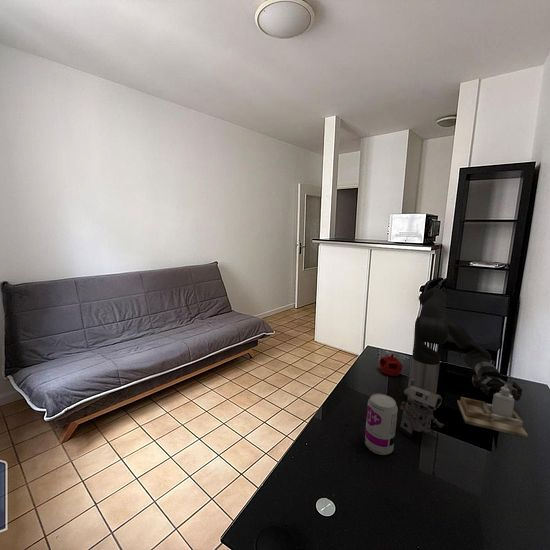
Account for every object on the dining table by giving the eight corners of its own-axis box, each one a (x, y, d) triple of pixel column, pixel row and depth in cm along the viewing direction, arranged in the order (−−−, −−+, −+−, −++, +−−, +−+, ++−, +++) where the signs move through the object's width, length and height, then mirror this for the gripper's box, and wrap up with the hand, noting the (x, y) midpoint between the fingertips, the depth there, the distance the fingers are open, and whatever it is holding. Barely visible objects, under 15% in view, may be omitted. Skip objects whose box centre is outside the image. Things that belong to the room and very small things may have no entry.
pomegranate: (385, 366, 139) (387, 347, 137) (405, 374, 131) (407, 354, 130) (374, 371, 132) (376, 352, 131) (395, 380, 125) (397, 360, 123)
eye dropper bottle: (507, 423, 97) (512, 390, 95) (488, 413, 102) (493, 382, 100) (513, 419, 99) (519, 387, 97) (494, 410, 104) (499, 379, 102)
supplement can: (375, 459, 81) (379, 410, 79) (359, 438, 89) (362, 394, 86) (399, 454, 83) (404, 406, 81) (381, 434, 91) (386, 390, 89)
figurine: (426, 451, 85) (432, 404, 82) (395, 427, 95) (399, 385, 92) (446, 441, 89) (452, 397, 86) (413, 419, 99) (418, 379, 96)
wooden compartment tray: (465, 423, 98) (466, 415, 97) (457, 402, 110) (458, 395, 109) (527, 437, 91) (528, 429, 91) (511, 414, 103) (512, 406, 103)
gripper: (468, 362, 117) (479, 380, 102) (511, 369, 112) (529, 390, 97) (466, 379, 118) (477, 400, 103) (508, 387, 113) (526, 410, 98)
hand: (502, 395), depth 100 cm, fingers open, 8 cm apart
